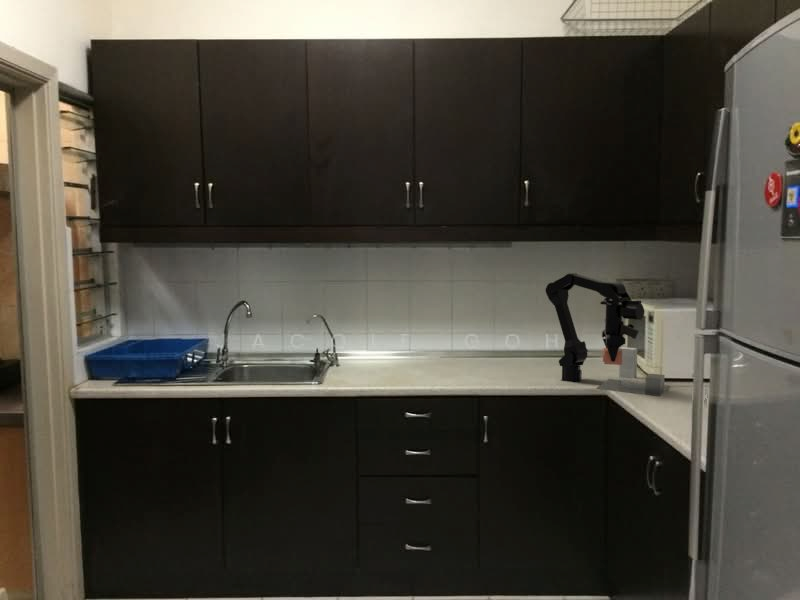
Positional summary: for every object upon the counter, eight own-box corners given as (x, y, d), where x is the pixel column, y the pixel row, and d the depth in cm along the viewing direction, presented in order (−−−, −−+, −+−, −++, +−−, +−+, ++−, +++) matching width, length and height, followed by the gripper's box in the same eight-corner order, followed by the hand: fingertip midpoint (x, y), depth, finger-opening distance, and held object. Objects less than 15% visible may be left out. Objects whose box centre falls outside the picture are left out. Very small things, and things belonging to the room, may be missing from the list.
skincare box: (636, 378, 253) (637, 348, 252) (634, 379, 250) (635, 349, 249) (621, 376, 257) (622, 346, 256) (618, 378, 253) (619, 348, 252)
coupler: (595, 390, 231) (595, 375, 231) (609, 380, 248) (609, 366, 248) (659, 398, 220) (660, 382, 219) (669, 387, 237) (670, 372, 236)
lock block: (604, 364, 230) (604, 350, 230) (602, 361, 235) (603, 348, 235) (621, 364, 229) (622, 351, 228) (620, 362, 234) (620, 348, 234)
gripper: (641, 321, 220) (639, 365, 221) (633, 315, 238) (631, 356, 239) (607, 320, 222) (606, 364, 223) (602, 314, 240) (600, 355, 242)
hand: (612, 360), depth 232 cm, fingers closed on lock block, 5 cm apart
